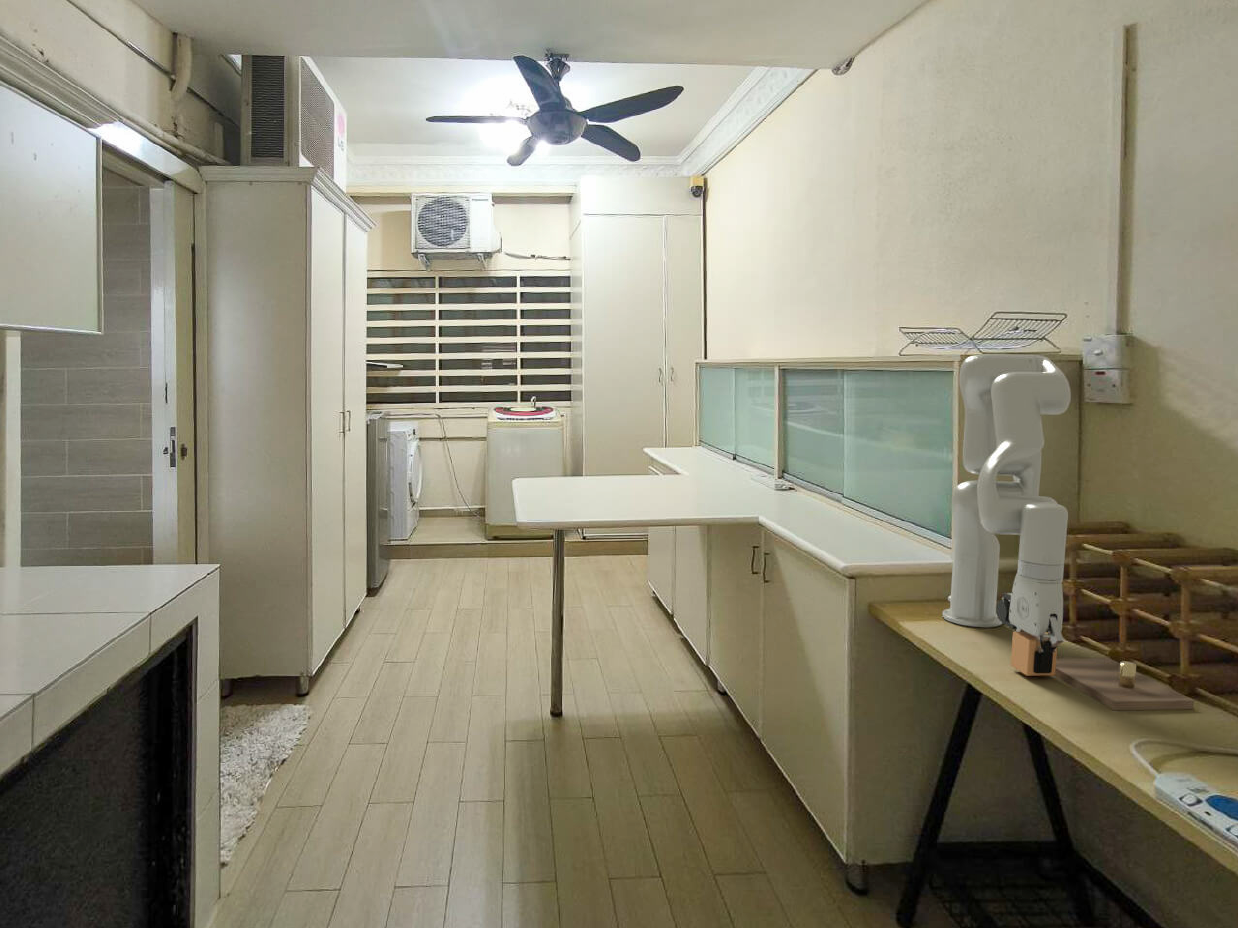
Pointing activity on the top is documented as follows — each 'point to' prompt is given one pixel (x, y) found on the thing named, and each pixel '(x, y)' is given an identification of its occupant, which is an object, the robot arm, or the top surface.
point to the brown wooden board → (1118, 684)
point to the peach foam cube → (1027, 653)
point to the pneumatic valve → (1004, 610)
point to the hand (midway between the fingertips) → (1032, 665)
